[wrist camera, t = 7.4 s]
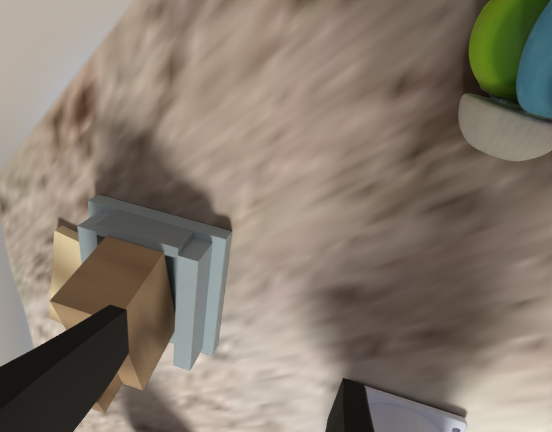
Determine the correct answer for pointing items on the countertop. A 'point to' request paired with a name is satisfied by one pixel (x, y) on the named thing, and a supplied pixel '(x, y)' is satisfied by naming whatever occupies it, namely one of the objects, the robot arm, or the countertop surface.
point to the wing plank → (63, 261)
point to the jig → (171, 266)
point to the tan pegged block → (123, 305)
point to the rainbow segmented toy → (511, 80)
